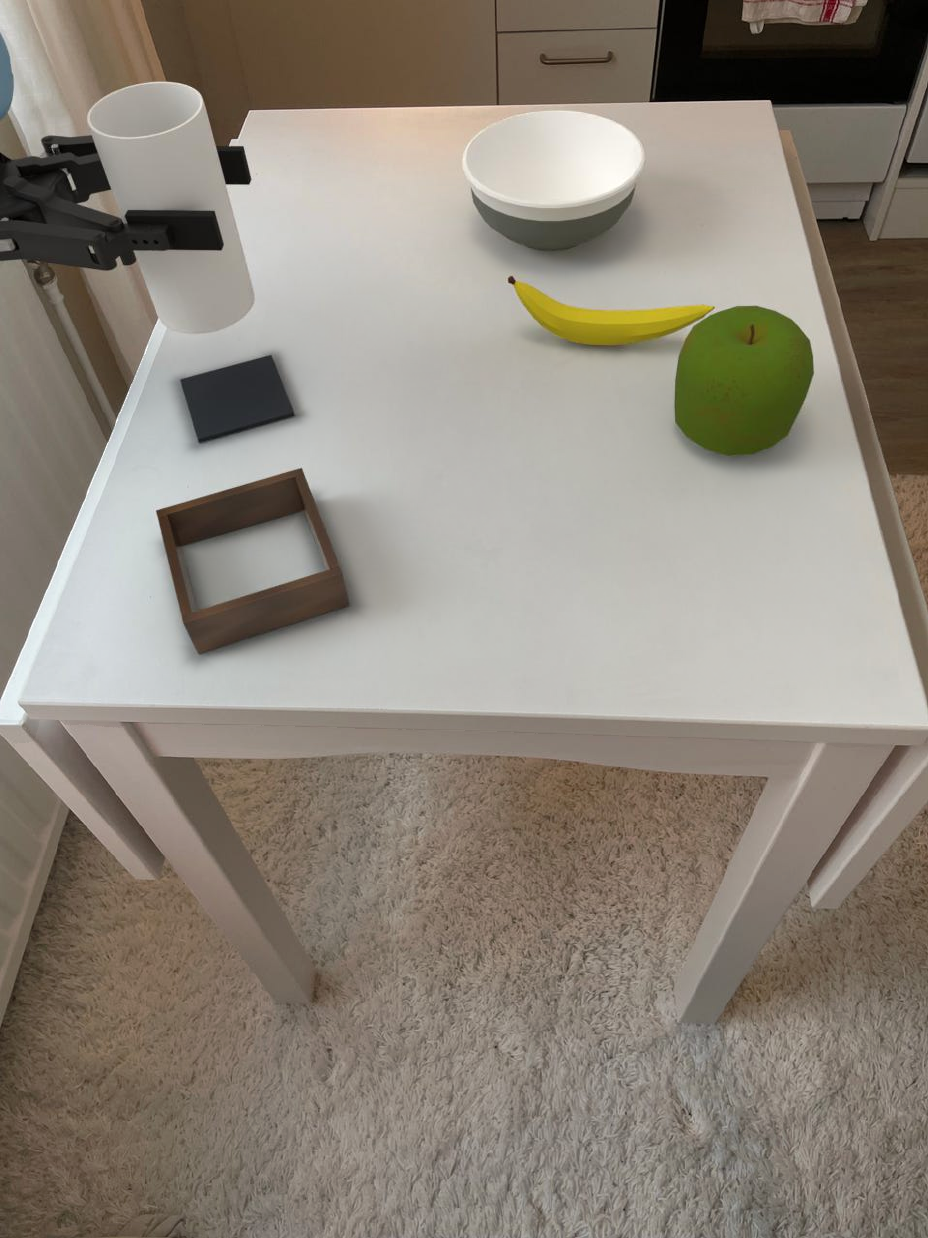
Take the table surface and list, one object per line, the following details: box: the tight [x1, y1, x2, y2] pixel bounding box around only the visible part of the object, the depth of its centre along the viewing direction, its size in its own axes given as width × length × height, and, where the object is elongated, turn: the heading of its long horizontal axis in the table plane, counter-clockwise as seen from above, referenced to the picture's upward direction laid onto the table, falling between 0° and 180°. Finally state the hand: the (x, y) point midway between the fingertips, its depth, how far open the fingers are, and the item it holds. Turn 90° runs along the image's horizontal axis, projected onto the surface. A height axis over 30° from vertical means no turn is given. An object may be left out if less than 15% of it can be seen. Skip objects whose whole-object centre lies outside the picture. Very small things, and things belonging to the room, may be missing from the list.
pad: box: [179, 354, 296, 444], centre depth 89 cm, size 9×9×1 cm
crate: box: [155, 467, 351, 655], centre depth 75 cm, size 12×12×4 cm
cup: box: [86, 81, 256, 335], centre depth 74 cm, size 8×8×16 cm
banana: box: [507, 275, 715, 346], centre depth 89 cm, size 3×19×6 cm, turn 78°
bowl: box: [461, 109, 646, 252], centre depth 100 cm, size 19×19×8 cm
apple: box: [673, 305, 815, 457], centre depth 80 cm, size 11×11×11 cm
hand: (232, 196), depth 72 cm, fingers closed on cup, 8 cm apart
